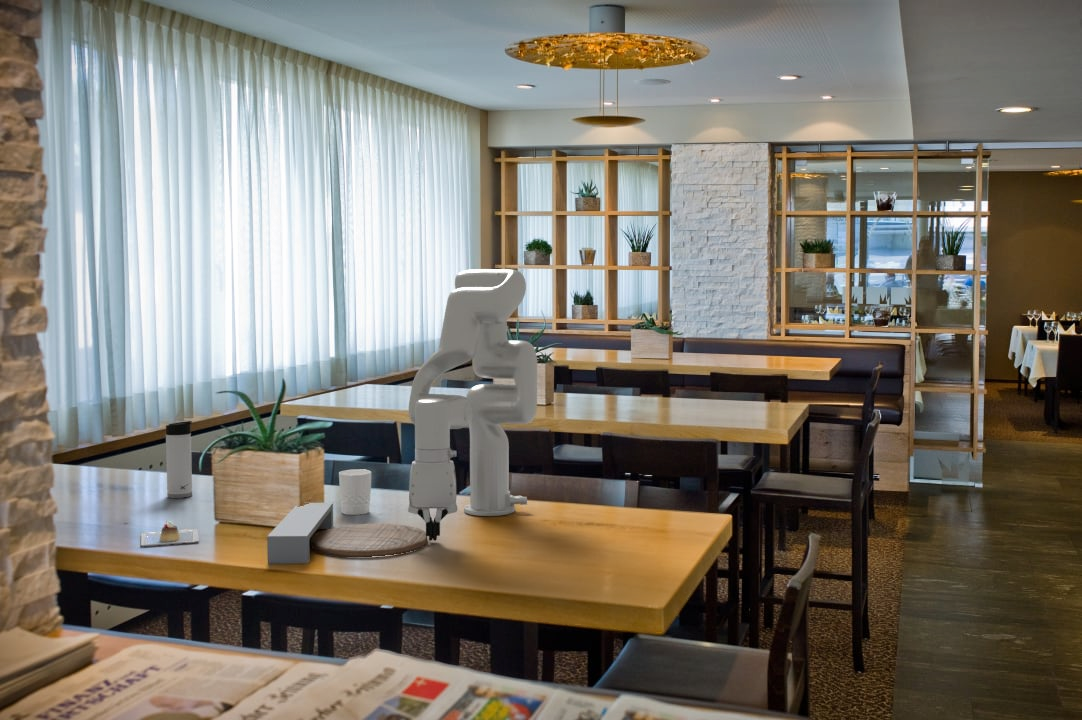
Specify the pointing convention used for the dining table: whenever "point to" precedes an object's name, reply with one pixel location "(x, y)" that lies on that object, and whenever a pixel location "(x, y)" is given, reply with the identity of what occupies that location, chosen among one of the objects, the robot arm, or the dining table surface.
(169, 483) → the travel mug
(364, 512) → the white cup
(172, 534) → the dessert
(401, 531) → the trivet
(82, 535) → the dining table surface
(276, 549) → the bridge
